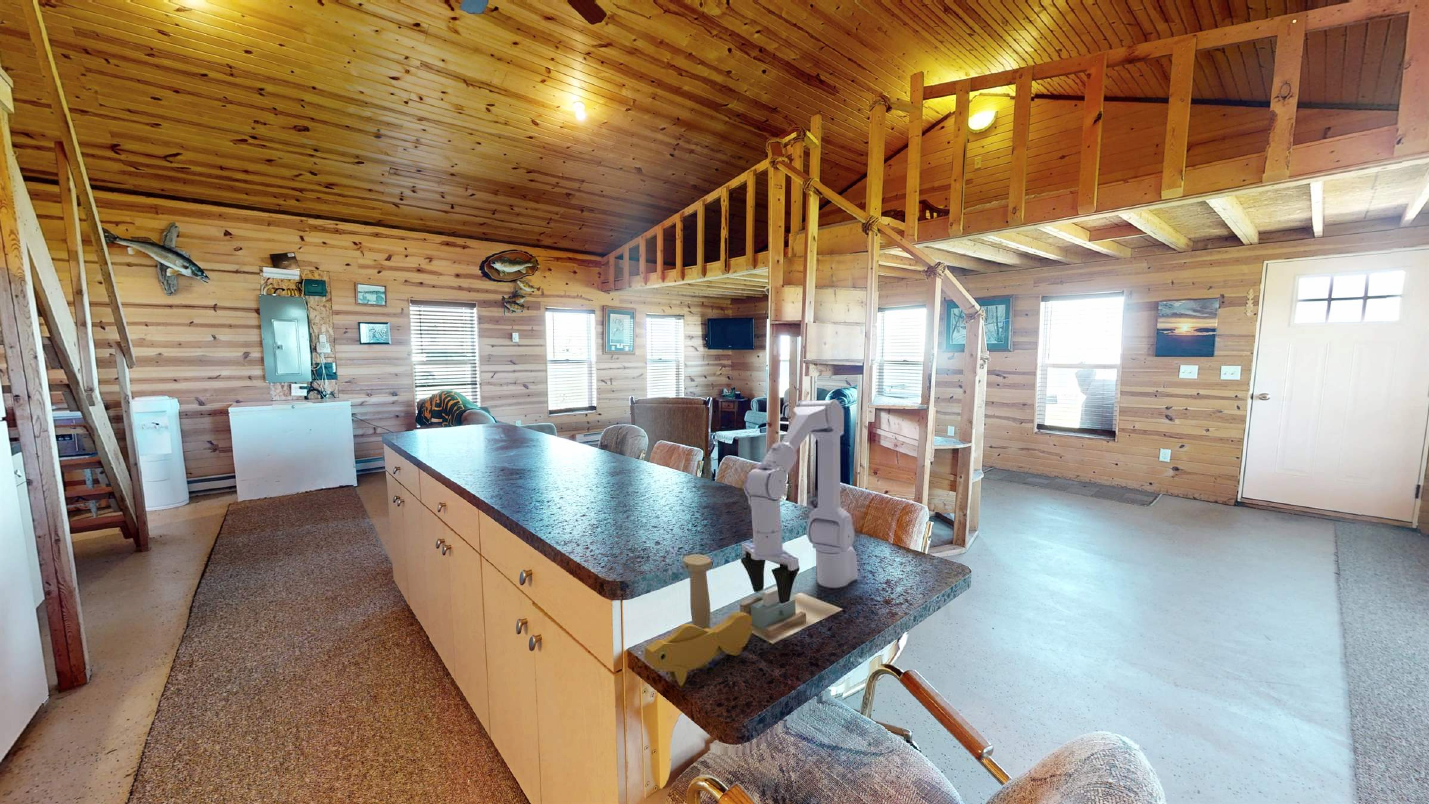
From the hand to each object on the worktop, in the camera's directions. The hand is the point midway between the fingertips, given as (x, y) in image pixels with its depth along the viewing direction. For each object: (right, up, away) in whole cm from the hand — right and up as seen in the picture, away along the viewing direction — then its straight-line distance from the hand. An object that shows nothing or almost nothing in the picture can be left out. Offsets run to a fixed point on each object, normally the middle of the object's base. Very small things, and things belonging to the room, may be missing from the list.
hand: (771, 596), depth 104 cm
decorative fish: (-13, -8, -13) cm, 20 cm away
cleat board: (+4, -6, +3) cm, 7 cm away
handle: (-14, -7, -1) cm, 16 cm away
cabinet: (+1, -5, 0) cm, 5 cm away
